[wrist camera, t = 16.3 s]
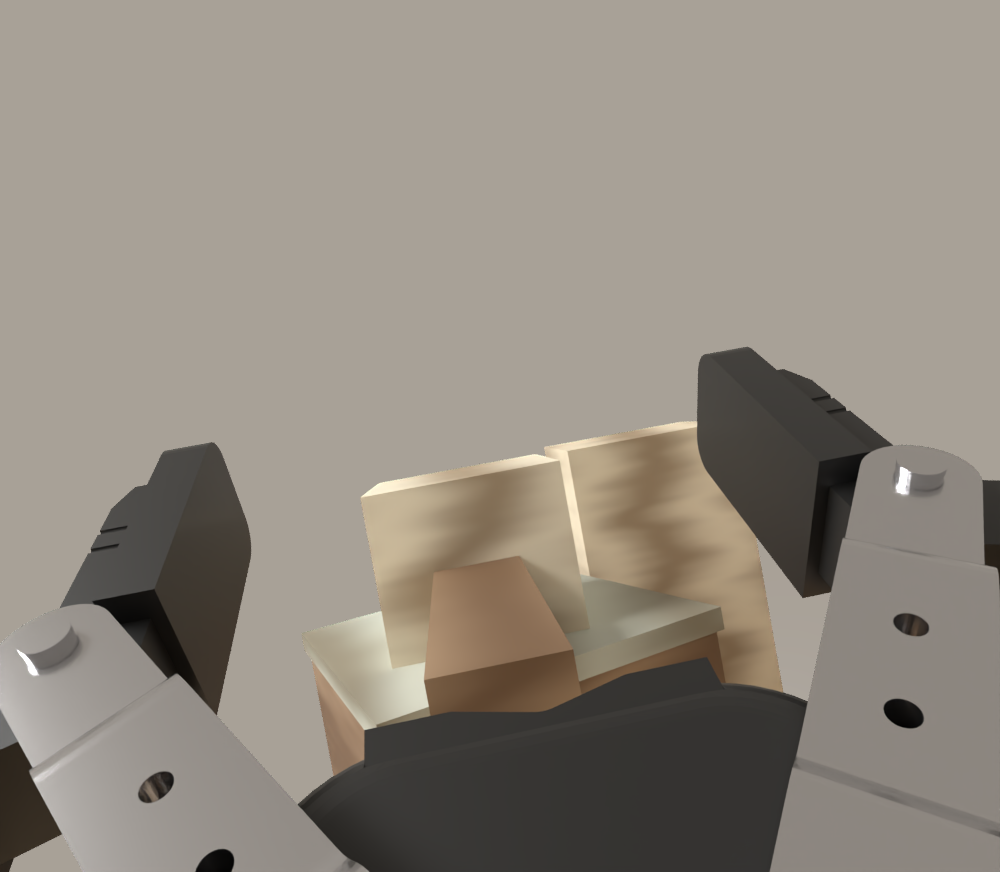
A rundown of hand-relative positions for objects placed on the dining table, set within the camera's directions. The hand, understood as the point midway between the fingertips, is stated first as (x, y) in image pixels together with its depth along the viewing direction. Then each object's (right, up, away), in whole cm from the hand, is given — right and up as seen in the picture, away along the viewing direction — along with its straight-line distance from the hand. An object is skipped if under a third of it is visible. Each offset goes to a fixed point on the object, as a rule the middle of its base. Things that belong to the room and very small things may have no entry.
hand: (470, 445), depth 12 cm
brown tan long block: (0, -7, +11) cm, 13 cm away
